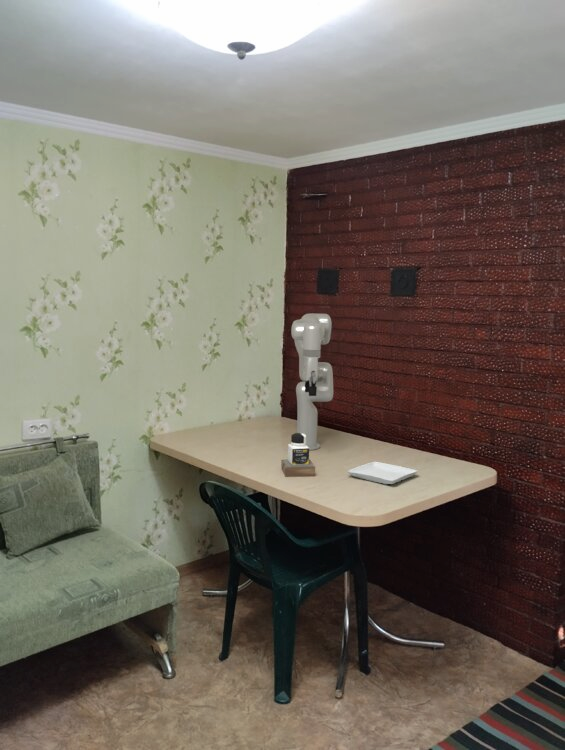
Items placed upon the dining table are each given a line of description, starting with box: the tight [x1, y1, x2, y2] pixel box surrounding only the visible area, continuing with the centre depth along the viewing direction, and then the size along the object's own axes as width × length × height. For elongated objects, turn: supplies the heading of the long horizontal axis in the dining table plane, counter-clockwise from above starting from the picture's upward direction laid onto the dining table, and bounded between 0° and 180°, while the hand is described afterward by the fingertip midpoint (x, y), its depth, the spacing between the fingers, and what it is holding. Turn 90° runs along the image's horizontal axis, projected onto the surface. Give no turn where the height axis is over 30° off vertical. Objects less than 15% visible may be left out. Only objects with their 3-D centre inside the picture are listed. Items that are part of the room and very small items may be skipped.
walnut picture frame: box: [280, 458, 316, 478], centre depth 261 cm, size 12×12×4 cm
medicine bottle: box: [287, 432, 310, 465], centre depth 260 cm, size 7×7×12 cm
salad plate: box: [347, 461, 419, 485], centre depth 257 cm, size 21×21×3 cm
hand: (310, 393), depth 272 cm, fingers open, 9 cm apart
